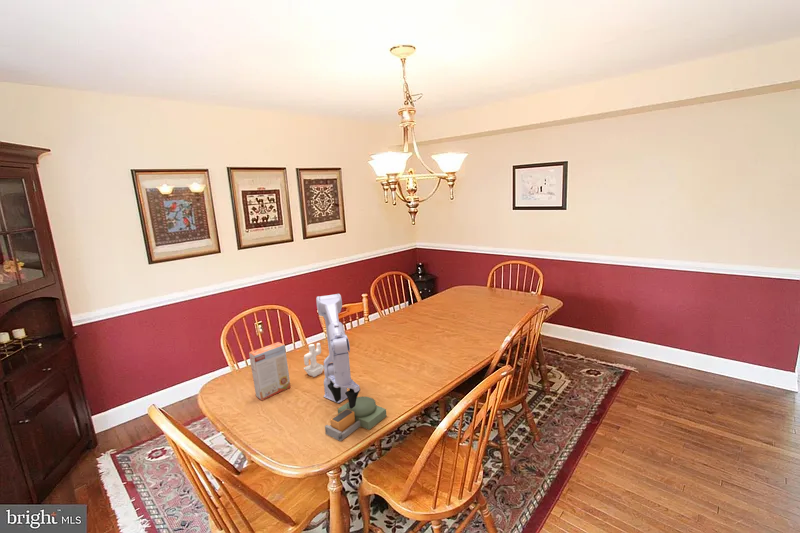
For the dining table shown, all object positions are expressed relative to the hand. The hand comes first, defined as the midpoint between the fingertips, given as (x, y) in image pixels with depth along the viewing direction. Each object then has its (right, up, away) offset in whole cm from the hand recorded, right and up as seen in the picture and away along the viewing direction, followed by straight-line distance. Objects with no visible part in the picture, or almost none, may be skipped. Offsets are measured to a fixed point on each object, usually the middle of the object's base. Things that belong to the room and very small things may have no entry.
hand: (345, 403), depth 140 cm
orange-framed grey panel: (0, -8, -1) cm, 8 cm away
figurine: (-21, -1, +42) cm, 47 cm away
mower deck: (+3, -8, +3) cm, 9 cm away
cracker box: (-36, -5, +28) cm, 46 cm away
